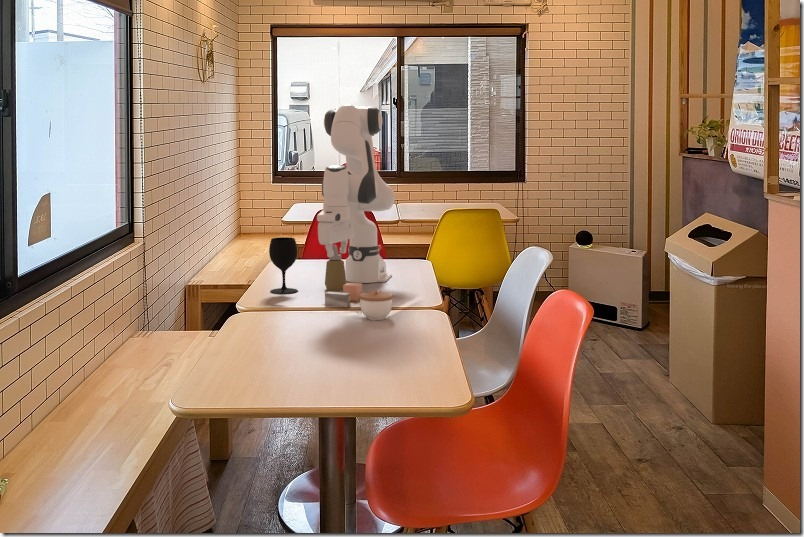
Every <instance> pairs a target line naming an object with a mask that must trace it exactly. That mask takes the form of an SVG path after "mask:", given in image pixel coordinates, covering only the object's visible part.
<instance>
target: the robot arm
mask: <svg viewBox="0 0 804 537" xmlns="http://www.w3.org/2000/svg"><path fill="white" fill-rule="evenodd" d="M323 126H324V127H323V128H324V130H325V133H326V134H327V135H328V136H329V137H330V143H331V145H332V147H333V149H334V150H335V151H337V152H338V153H339V154H340V155H343V156H344V157H345V163H346V166H345V165H342V164H332V165H328V166H326V167H325V168H324V173H323V180H322V182H321V196H322V197H323V198H324V201H323V205H322V207H323V208H322V210H321V211H320V212H319V213H318V214H317V216H316V221H317V222H318V224H317V237H318V239H317V240H318V242H319V244H320V245H321V246H325V247H324V248H325V250H326V252H327V253H326V255H327V257H328V258H329V257H333V256H334V251H333V246H334V244H336V243H339V242H340V247H339V253H340V254H346V253H347V252H348V257H347V258H345V264H344V267H345V276H346V282H347V283H362V284H370V283H371V284H373V283H385V282H387V281H388V280H389V279H391V277H392V276H393V275H392V273H389V272H387V264H386V261H385V260H384V259H383V257H382V256H381V255H380V251H381V249H382V245H381V244H378V228H377V225H376V223H375V222H373V221H372V220H370V219H368V217H366V214H365V212H384V211H389V210H391V208H392V207H393V206H394V204H395V201H396V200H395V199H396V197H395V196H396V195H395V192H394V190H393V188H392V187H391V186H390V185H388V184H387V183H386V182H385V181H384V180H383V179H382V177H381V175H380V174H379V172H378V170H377V167H376V161H375V153H374V152H375V151H374V150H375V149H374V143H373V137H374V136H375V135H377V134H378V133H379V132H380V131H381V130H382V126H383V116H382V113H381V111H380V109H379V108H378V107H374V106H356V105H355V106H354V105H353V104H344V105H341V106H340V107H338V108H332V109H329V110H328V111H327V112H326V113H325V114H324V118H323ZM349 173H350V174H349ZM348 243H349V245H348ZM347 246H348V247H347ZM347 248H348V249H347ZM347 250H348V251H347Z"/></svg>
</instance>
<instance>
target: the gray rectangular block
mask: <svg viewBox="0 0 804 537" xmlns="http://www.w3.org/2000/svg"><path fill="white" fill-rule="evenodd" d="M358 303H359V304H360V299H357V300H351V299H350V293H343V292H340V291H327V292H325V293H324V303H323V304H322V305H323V306H336V307H345V308H346V307H347V308H350V307H352V306H354V305H356V304H358Z"/></svg>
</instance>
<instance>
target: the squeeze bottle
mask: <svg viewBox="0 0 804 537" xmlns="http://www.w3.org/2000/svg"><path fill="white" fill-rule="evenodd" d="M332 249H333V251H334V256H333V257H328V260H326V263H325V264H326V266H325V277H324V278H325V279H324V285H325V289H326V290H327V291H328V292H340V291H342V292H343V285H344V284H347V281H346V276H345V260H343V259H342V253H340V252H339V250H338V245H337V244H333V247H332ZM339 253H340V254H339Z"/></svg>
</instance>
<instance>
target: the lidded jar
mask: <svg viewBox="0 0 804 537" xmlns="http://www.w3.org/2000/svg"><path fill="white" fill-rule="evenodd" d="M393 298H394V295H393V293H390V292H385V291H379V289H374V291H369V292H362V294H360V302H359V305H360V310H361V312H362V314H363V316H365V317H366V319H367V320H369V321H382V320H386V318H387V317H388V316H389V314H390V313H391V311H392V307H393Z"/></svg>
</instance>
